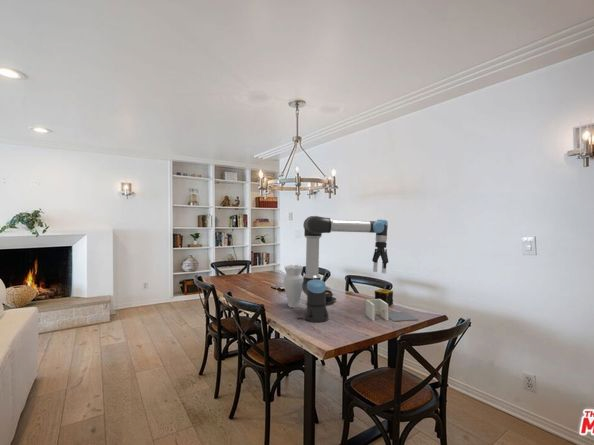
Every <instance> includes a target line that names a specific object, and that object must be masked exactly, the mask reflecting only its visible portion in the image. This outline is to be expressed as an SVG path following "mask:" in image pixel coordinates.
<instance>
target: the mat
mask: <svg viewBox="0 0 594 445" xmlns="http://www.w3.org/2000/svg"><path fill="white" fill-rule="evenodd" d="M388 320H391V321H392V322H393V323H394V322H410V321H411V322H413V321H419V319H418V318H417V317H415V316H413V315H411V314H410V313H408V312H407V311H388Z"/></svg>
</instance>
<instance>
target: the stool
mask: <svg viewBox="0 0 594 445" xmlns="http://www.w3.org/2000/svg"><path fill="white" fill-rule="evenodd" d="M364 305H365V316H366V317H367V318H368V319H370V320H371V321H372V322H375V320H376V318H375V317H376V316H380V317H381V318H383V319H384V320H385V321H389V318H388V312H389V306H388V304H387V303H386V302H384V301H383V300H381V299H375V298H372V299H369V298H368V299H365V303H364Z"/></svg>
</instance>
